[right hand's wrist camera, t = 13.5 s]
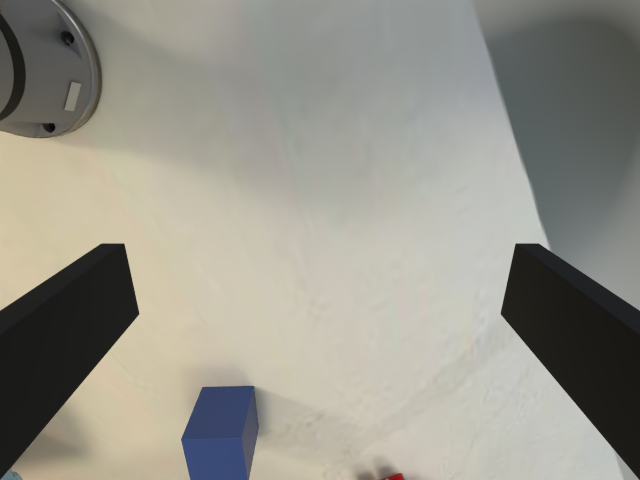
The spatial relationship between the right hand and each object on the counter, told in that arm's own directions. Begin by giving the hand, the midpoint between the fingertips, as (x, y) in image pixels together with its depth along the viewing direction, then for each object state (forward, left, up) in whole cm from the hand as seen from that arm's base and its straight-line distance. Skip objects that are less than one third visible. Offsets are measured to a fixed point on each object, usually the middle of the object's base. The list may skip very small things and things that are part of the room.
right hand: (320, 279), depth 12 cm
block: (+5, -42, -33) cm, 53 cm away
